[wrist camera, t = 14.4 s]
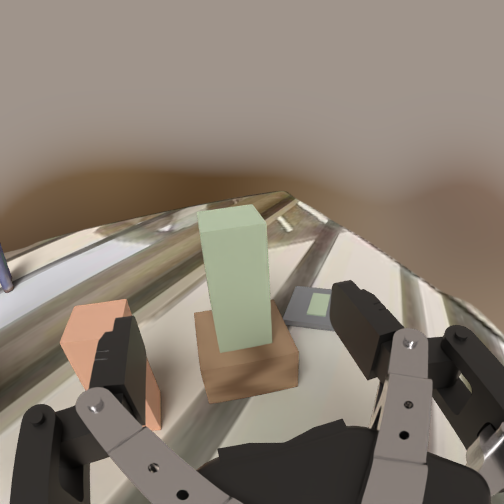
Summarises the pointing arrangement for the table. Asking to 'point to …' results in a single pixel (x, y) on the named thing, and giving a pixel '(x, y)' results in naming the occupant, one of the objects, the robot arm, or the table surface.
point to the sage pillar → (237, 275)
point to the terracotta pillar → (85, 344)
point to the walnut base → (246, 362)
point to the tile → (309, 308)
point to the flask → (5, 274)
